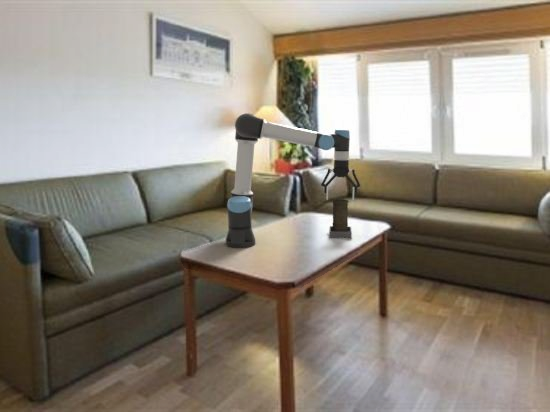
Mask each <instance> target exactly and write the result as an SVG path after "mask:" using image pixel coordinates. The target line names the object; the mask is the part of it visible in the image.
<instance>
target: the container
mask: <svg viewBox="0 0 550 412" xmlns="http://www.w3.org/2000/svg"><path fill="white" fill-rule="evenodd" d="M349 202H350V201H349V200H348V199H344V198H343V199H342V198H340V199H339V198H338V199H333V200H332V206H333V207H332V226H333V228H332V231H343V232H348V227H349V223H348V222H349V221H348V220H349V219H348V218H349V217H348V215H349V213H348V212H349V208H348V206H349Z"/></svg>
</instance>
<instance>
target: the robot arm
mask: <svg viewBox="0 0 550 412" xmlns="http://www.w3.org/2000/svg"><path fill="white" fill-rule="evenodd" d="M234 127H235V137H234V140H235V141H236V142H237V149H236V150H237V152H236V164H235V173H234V174H235V176H234V188H233V189H232V190H231V192H230V198H229V199H228V200H227V204H226V205H227V207H226V208H227V223H228V224H227V225H228V226H227V227H228V229H227V234H226V236H225V240H224V241H225V246H226V245H227V247H229V248H237V249H238V248H240V249H241V248H249V247H253V246H254V245H256V237H255V235H254V231H253V228H252V226H253V225H252V211H253V206H254V204H253V203H254V202H253V201H254V192H253V191H252V190H251V189H252V179H253V167H254V153H255V144H256V143H258V141H259V139H260V140H261V139H263V138H266V139H271V140H276V141H280V142H286V143H291V144H296V145H300V146H305V147H311V148H314V149H321V150H323V151H329V150H331V149H333V148H334V153H333V155H334V156H333V158H334V160H333V168H330V167H329V168H328V169H327V172H326V175H325V176H324V178H323V180H322V182H321V183H320V184H321V187H324V190H323V191H324V194H326V196H325V197H326V201H329V185H330V184H331V183H332V182H333V180H334V179H335V178H346V179H347V180H348V181H349V183H350V184H351V185H352V186H353V187H352V201H355V195H357V193H358V192H357V191H358V189H357V188H360V187H361V183H360V182H359V179H358V177H357V175H356V173H355V171H356V170H355V168H349V166H350V165H349V164H350V163H349V161H350V160H349V159H350V139H351V138H350V130H349V129H347V128H345V129H344V128H341V129H340V128H337V129H335V130H334V132H318V131H312V130H310V129H309V130H308V129H304V128H298V127H295V126H294V127H293V126H289V125H284V124H279V123H273V122H270V121H266V119H265V118H260V117H257V116H256V115H254V114H253V113H243V114H241V115H239V116H238V117H237V118H236V119H235V122H234ZM332 172H333V175H332V176H331V178H330V179H328V177H329V175H330V174H331V173H332ZM349 172H350V173H351V174H352V177H353V178H354V180H355V181H353V179H352V178H351V177H350V176H349ZM327 179H328V181H327Z"/></svg>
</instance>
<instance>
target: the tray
mask: <svg viewBox="0 0 550 412" xmlns="http://www.w3.org/2000/svg"><path fill="white" fill-rule="evenodd" d="M332 228H333V225H332V226H329V231H328V232H329V234H328V237H329V239H352V235H353V234H352V232H353V231H352V226H348V232H343V231H332Z"/></svg>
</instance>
